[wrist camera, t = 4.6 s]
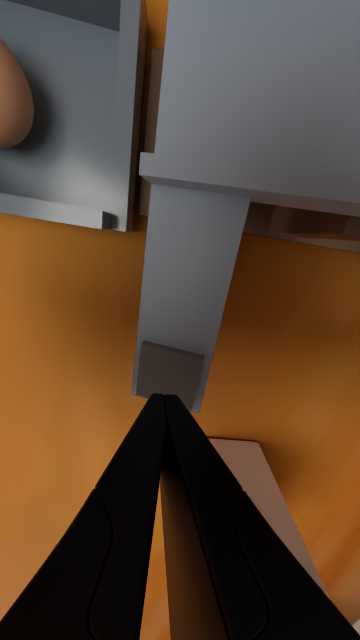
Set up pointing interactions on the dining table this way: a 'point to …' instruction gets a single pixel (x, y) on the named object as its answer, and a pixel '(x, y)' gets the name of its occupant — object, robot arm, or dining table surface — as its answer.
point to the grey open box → (76, 110)
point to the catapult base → (261, 217)
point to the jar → (265, 496)
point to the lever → (238, 160)
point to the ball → (13, 100)
